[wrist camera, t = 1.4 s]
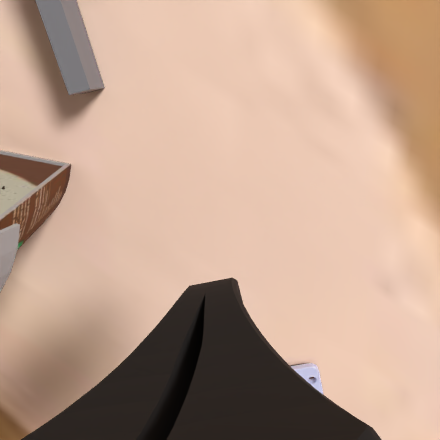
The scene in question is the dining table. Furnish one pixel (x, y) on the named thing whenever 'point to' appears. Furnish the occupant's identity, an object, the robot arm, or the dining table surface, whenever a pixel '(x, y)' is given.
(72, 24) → the grey piece
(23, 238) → the food container
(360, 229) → the dining table surface
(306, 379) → the robot arm
